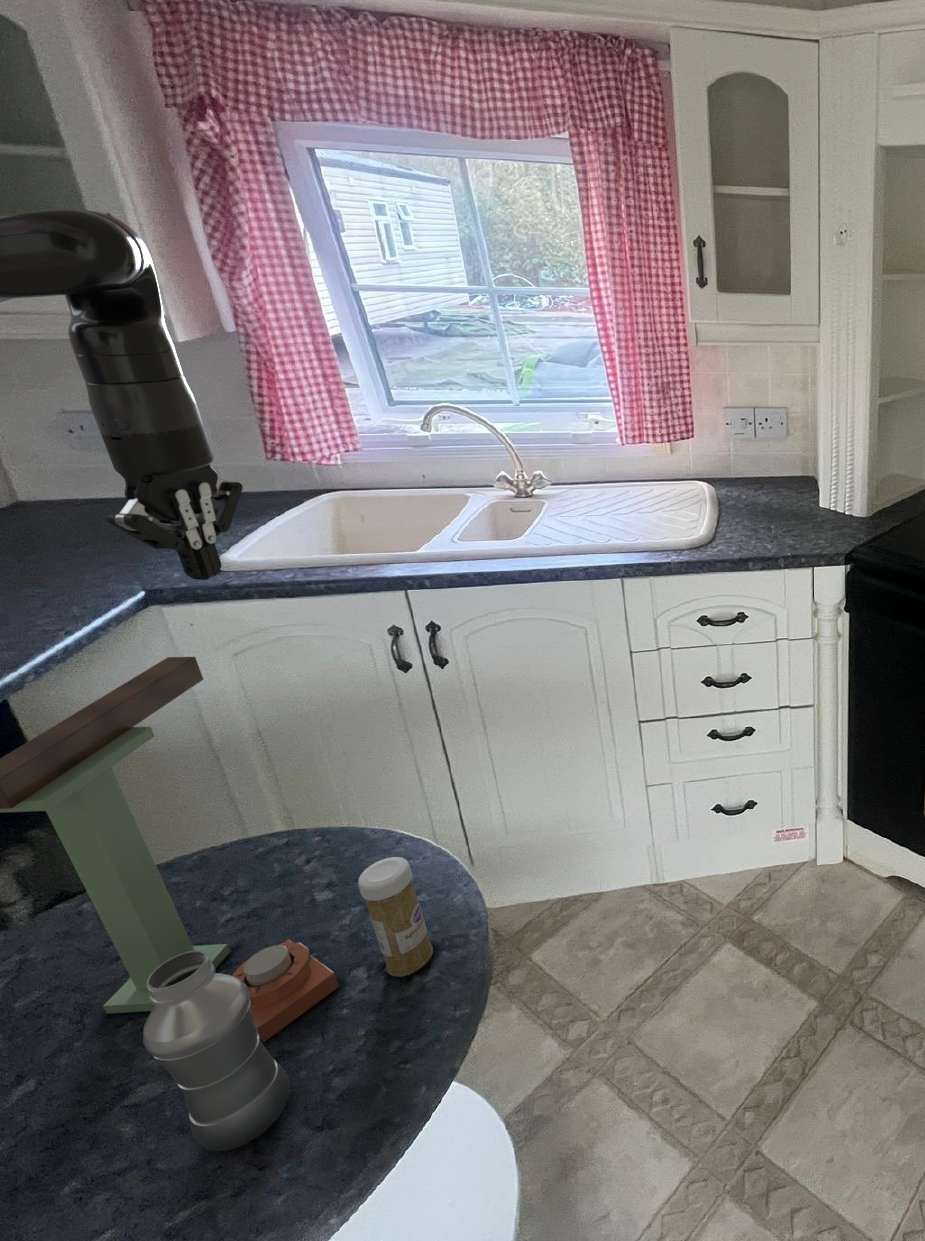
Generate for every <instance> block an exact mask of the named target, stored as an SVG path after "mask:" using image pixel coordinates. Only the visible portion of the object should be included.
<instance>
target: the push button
mask: <svg viewBox="0 0 925 1241" xmlns="http://www.w3.org/2000/svg"><path fill="white" fill-rule="evenodd" d="M248 959H249V960H248ZM248 959H247V960H248V961H247V960H246V961H247V962H246V964H245V965H244V968H243V971H244V974H245V976H246V979H247V981H248V983H249V984H250V985H251V986H254V987H260V986H263V985H266V984H268V983H271V982H274V981H275V980H277V979H278V978H280V977H281V976H283V975H284V974H286V973H287V971H288V970H289V969H290V967H291V964H292V960H291V958H290V955H289V952H288V950H287V948H286V947H284V946H281V945H279V944H276V945H271V946H268V947H266V948H263V949H260V950H259V951H258V952H257V951H256V953H254V954H253V955H252V956H250V958H248Z"/></svg>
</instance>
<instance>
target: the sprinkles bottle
mask: <svg viewBox="0 0 925 1241" xmlns="http://www.w3.org/2000/svg"><path fill="white" fill-rule="evenodd" d="M412 878H413V873H412V869H411V866H410V862H409V861H408V860H407V859H406V858H404V857H400V856H391V857H386V858H383V859H381V860H377V861H376V862H374V863H372V864H371V865H369V866H368V867H367V868H365V869H364V870H363V872H362V873H361V874H360V876H359V877H358V879H357V880H358V881H357V884H358V889H359V892H360V895H361V897H362V898H363V900H364V901H365V904H366V907H367V910H368V913H369V919H370V922H371V925H372V928H373V930H374V934H375V937H376V939H377V940H376V941H377V943H378V946H379V949H380V952H381V953H382V955H383V958H384V962H385V966H386V967H385V968H386V972H387V973H388V975H390V976H392V977H398V978H399V977H401V978H402V977H406V976H410V975H411V974H414V973H415V972H418V971H420V970H421V969H422V968H424V966H425V965H426V964H427V963H428V962H429V961H430V960H431V958H432V957H433V954H434V948H433V945H432V943H431V941H430V937H429V935H428V931H427V930H428V929H427V925H426V921H425V918H424V915H423V911H422V909H421V906H420V903H419V899H418V896H417V893H416V890H415V887H414V884H413V880H412Z"/></svg>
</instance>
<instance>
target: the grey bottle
mask: <svg viewBox="0 0 925 1241" xmlns="http://www.w3.org/2000/svg"><path fill="white" fill-rule="evenodd" d="M147 989H148V991H149V993H150V1000H151V1002H152V1004H153V1005H155V1006H154V1008H153V1009H152V1011H150V1012H149V1015H148V1017H147V1018H146V1020H145V1022H144V1025H143V1032H142V1033H143V1035H142V1044H143V1046H144V1048H145V1049H146V1051H147V1052H148V1053H149V1055H151V1056H152V1057H153V1058H154V1059H155V1060H156V1061H157V1062H158V1063H159V1064H160V1065H161V1066H162V1067H163V1068H164V1069H165V1070H166V1071H167V1072H168V1073H169V1075H170V1076H171V1077H172V1079H173V1081H174V1082H175V1083H176V1084H177V1086H178V1088H179V1089H180V1090H181V1093H182V1095H183V1098H184V1101H185V1104H186V1107H187V1110H188V1117H189V1118H188V1119H189V1126H190V1130H191V1134H192V1137H193V1139H194V1140H195V1141H196V1143H198V1144H199V1145H200V1146H202V1147H203V1148H204V1149H206V1150H208V1151H211V1152H223V1151H228V1150H229V1151H230V1150H234V1149H237V1148H240V1147H242V1146H244V1145H247V1144H248V1143H251V1142H252V1141H254V1140H255V1139H257V1138H258V1137H259V1136H261V1135H263V1134H264V1133H265V1132H266V1131H267V1130H268V1129H269V1128H270V1127H272V1126H273V1124H275V1122H276V1121H277V1120H278V1118H279V1117H280V1115H281V1114H282V1113H283V1111H284V1109H285V1108H286V1106H287V1103H288V1101H289V1099H290V1094H291V1089H290V1088H291V1087H290V1079H289V1074H288V1073H287V1071H286V1070H285V1069H284V1067H283V1066H282V1065H281V1064H280V1063H279V1062H278V1061H276V1059H274V1058H273V1057H272V1055H271V1054H270V1052H269V1051H268V1050H267V1048H266V1046H265V1045H264V1044H263V1041H262V1040H261V1039H260V1037H259V1035H258V1031H257V1029H256V1026H255V1023H254V1020H253V1014H252V1008H251V1002H250V995H249V992H248V989H247V987H246V985H245V984H244V983H243V982H242V981H240V980H239V979H237V978H236V977H234V976H232V975H230V974H225V973H220V972H216V969H215V967H214V965H213V963H211V962H210V960H209V957H208V955H207V954H206V953H205V952H203V951H198V950H196V951H189V952H185V953H182V954H180V955H177V956H175V957H173V958H171V959H169V960H167V961H166V962H164V963H163V964H161V965H160V966H159V967H157V968H156V969H155V970H154V971H153V972H152V973H151V974H150V976H149V977H148V979H147Z"/></svg>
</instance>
